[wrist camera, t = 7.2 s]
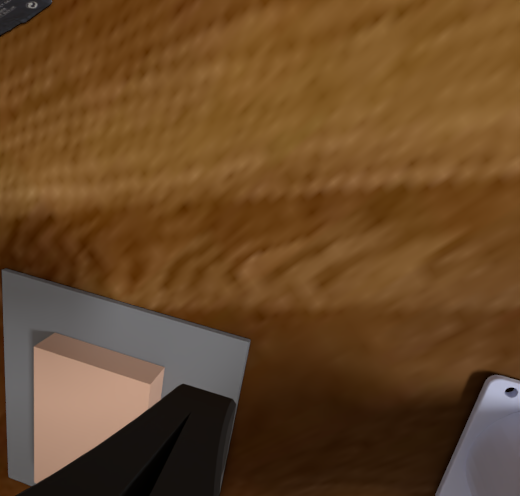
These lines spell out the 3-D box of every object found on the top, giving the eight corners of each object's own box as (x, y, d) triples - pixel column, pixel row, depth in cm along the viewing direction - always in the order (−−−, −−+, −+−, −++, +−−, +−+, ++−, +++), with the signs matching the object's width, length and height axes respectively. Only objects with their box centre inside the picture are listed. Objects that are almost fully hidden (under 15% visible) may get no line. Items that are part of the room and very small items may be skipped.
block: (150, 384, 20) (33, 346, 21) (135, 522, 23) (34, 482, 24) (165, 366, 21) (55, 332, 23) (148, 498, 24) (53, 461, 26)
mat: (250, 339, 20) (249, 342, 20) (208, 550, 25) (206, 555, 25) (6, 268, 22) (1, 269, 22) (11, 473, 27) (8, 477, 27)
